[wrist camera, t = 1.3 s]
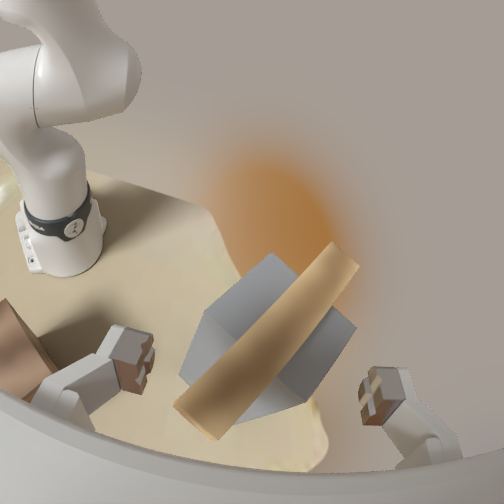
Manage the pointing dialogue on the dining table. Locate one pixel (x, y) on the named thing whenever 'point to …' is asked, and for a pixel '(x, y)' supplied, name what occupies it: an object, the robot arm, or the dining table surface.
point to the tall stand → (243, 318)
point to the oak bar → (265, 346)
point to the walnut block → (21, 356)
